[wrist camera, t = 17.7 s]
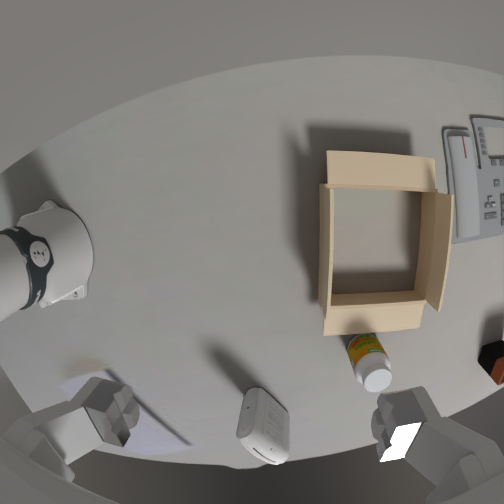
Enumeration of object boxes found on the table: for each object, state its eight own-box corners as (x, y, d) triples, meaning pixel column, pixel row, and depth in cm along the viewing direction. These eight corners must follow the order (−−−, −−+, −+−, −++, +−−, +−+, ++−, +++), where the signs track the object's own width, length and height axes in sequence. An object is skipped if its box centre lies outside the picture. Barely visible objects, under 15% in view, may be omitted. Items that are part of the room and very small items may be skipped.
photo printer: (240, 392, 45) (229, 444, 33) (259, 382, 44) (252, 436, 32) (274, 422, 46) (271, 472, 35) (293, 414, 46) (293, 465, 34)
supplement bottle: (375, 327, 40) (395, 358, 30) (380, 354, 40) (398, 388, 31) (343, 338, 41) (356, 372, 31) (349, 364, 41) (361, 401, 32)
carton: (316, 322, 40) (323, 351, 33) (318, 153, 35) (328, 146, 27) (411, 316, 39) (432, 340, 31) (423, 160, 33) (453, 157, 25)
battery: (482, 345, 39) (507, 371, 29) (502, 338, 38) (527, 361, 28) (476, 362, 40) (499, 389, 30) (496, 355, 39) (519, 379, 30)
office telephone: (455, 247, 34) (440, 113, 29) (447, 243, 36) (432, 116, 32) (536, 230, 30) (527, 123, 26) (528, 227, 33) (518, 124, 28)
